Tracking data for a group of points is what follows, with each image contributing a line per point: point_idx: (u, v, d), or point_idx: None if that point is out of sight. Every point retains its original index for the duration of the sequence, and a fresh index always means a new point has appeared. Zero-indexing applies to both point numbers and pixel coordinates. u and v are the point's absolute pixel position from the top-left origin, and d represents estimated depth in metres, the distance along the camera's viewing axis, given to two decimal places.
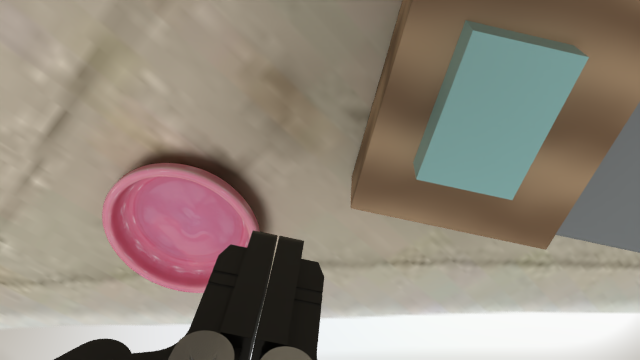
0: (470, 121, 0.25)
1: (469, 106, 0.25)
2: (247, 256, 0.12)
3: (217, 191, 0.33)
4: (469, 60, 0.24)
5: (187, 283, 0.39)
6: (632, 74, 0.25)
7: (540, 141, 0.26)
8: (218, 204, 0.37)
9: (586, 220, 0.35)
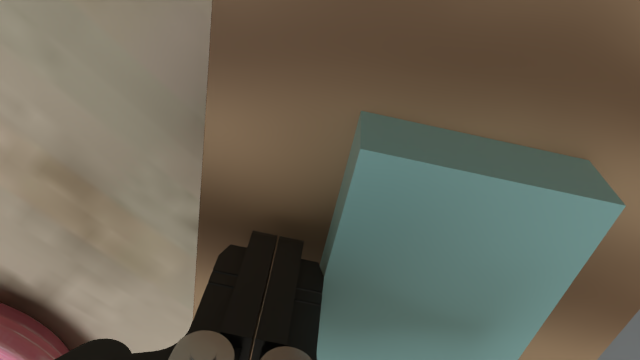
0: (378, 308, 0.13)
1: (373, 285, 0.12)
2: (247, 256, 0.12)
3: None
4: (361, 205, 0.11)
5: None
6: None
7: (522, 343, 0.13)
8: None
9: None
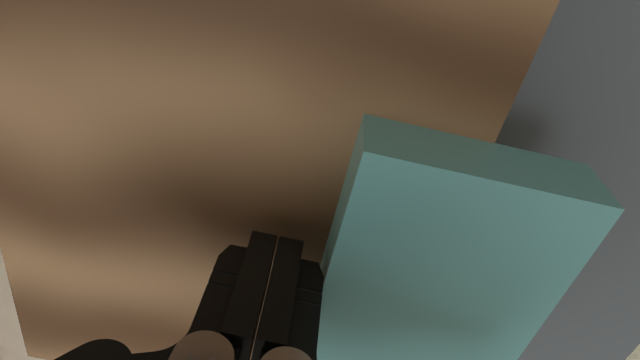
0: (379, 310, 0.13)
1: (374, 286, 0.12)
2: (247, 256, 0.12)
3: None
4: (363, 207, 0.11)
5: None
6: None
7: (521, 345, 0.13)
8: None
9: None
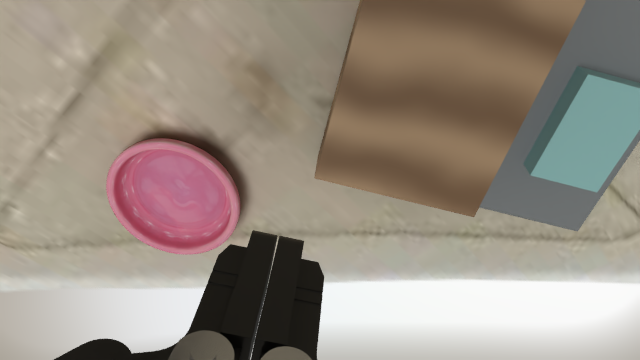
0: None
1: None
2: (247, 256, 0.12)
3: (205, 163, 0.40)
4: None
5: (177, 246, 0.46)
6: (530, 72, 0.33)
7: (548, 122, 0.38)
8: (206, 176, 0.43)
9: (511, 197, 0.42)
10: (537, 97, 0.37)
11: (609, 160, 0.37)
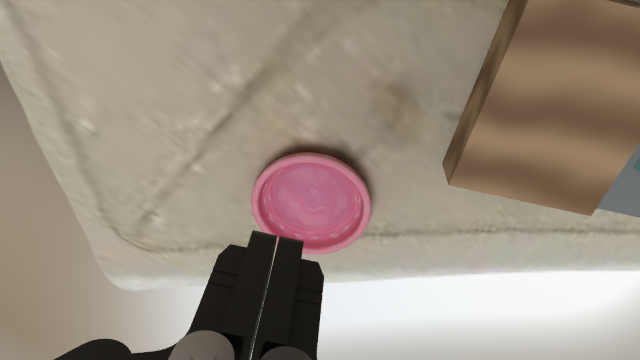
0: None
1: None
2: (247, 256, 0.12)
3: (346, 173, 0.45)
4: None
5: (308, 247, 0.51)
6: None
7: None
8: (338, 184, 0.48)
9: (618, 196, 0.47)
10: None
11: None
